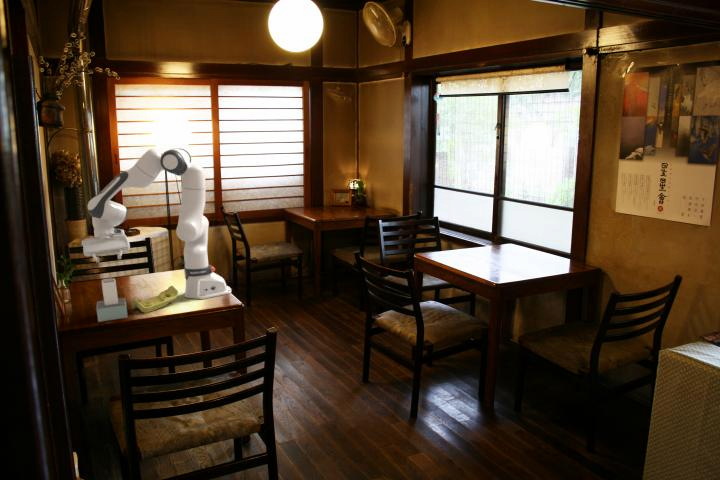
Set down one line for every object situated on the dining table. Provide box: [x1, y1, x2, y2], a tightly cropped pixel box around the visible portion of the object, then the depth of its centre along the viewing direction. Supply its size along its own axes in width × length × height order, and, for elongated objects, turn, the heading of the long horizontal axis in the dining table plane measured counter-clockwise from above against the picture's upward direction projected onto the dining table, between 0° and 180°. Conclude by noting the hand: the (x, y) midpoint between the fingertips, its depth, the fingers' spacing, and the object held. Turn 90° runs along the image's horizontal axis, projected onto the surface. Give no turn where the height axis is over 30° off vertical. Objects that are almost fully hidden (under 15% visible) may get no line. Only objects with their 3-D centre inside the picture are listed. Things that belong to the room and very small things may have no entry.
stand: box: [96, 297, 129, 323], centre depth 265 cm, size 12×12×6 cm
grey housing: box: [101, 277, 119, 305], centre depth 264 cm, size 6×6×11 cm
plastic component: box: [131, 285, 179, 313], centre depth 277 cm, size 20×7×10 cm
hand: (108, 260), depth 276 cm, fingers open, 8 cm apart
